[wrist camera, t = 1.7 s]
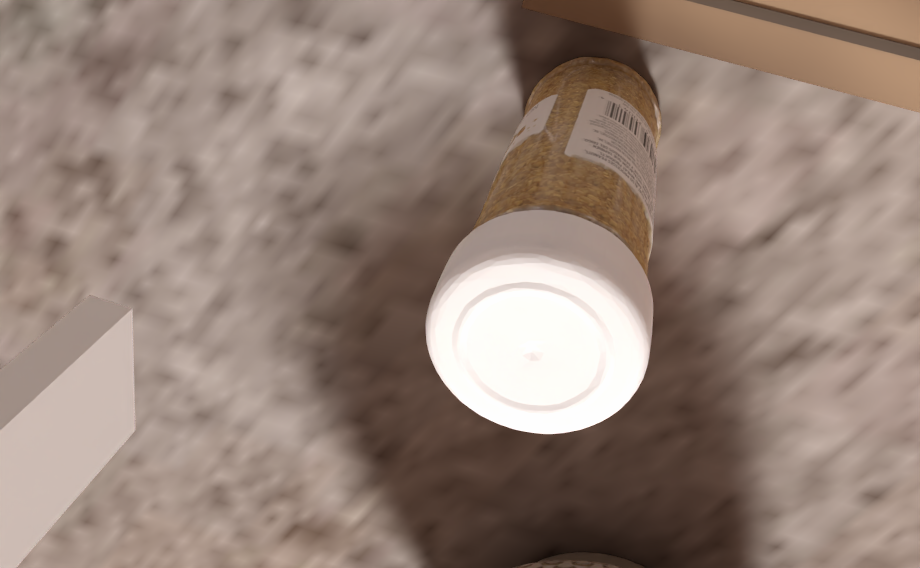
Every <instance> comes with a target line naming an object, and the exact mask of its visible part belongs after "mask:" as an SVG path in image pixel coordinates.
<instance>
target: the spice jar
mask: <svg viewBox="0 0 920 568" xmlns="http://www.w3.org/2000/svg"><path fill="white" fill-rule="evenodd" d="M660 135H661V112H660V109H659V106H658V103H657V99H656V97H655V95H654V94H653V92H652V90H651V88H650V86H649V84H648V83H647V82H646V81H645V79H644V78H642V77H641V76H640V75H639V74H638V73H637V72H636V71H635V70H633V69H631V68H630V67H629V66H627V65H624V64H622V63H619V62H617V61H614V60H610V59H608V58H597V57H580V58H576V59H573V60H570V61H568V62H565V63H563V64H561V65H559V66H558V67H556V68H555V69H554V70H553V71H551V72H549V73H548V74H547V75H546V76H545V77H544V78H542V79H541V80H540V81H539V82H538V84H537V85H536V86H535V88H534V89H533V91H532V94H531V96H530V98H529V99H528V102H527V105H526V108H525V113H524V118H523V119H522V121H521V122H520V124H519V125H518V128H517V130H516V132H515V134H514V136H513V138H512V140H511V143H510V145H509V147H508V149H507V151H506V154H505V156H504V158H503V160H502V162H501V165H500V167H499V169H498V172H497V174H496V176H495V178H494V180H493V183H492V185H491V188H490V190H489V193H488V196H487V199H486V202H485V204H484V207H483V209H482V212H481V214H480V216H479V218H478V220H477V222H476V224H475V226H474V228H473V231H472V232H471V233H470V234H469V235H467V236H466V237H465V238H464V239H463V240H462V241H461V242H460V243H459V244H458V246H457V247H456V249H455V250H454V251H453V253H452V255H451V256H450V258H449V260H448V262H447V264H446V266H445V268H444V270H443V272H442V274H441V276H440V279H439V281H438V283H437V286H436V288H435V290H434V293H433V295H432V298H431V301H430V304H429V307H428V311H427V317H426V342H427V347H428V351H429V354H430V358H431V360H432V362H433V364H434V367H435V369H436V371H437V373H438V374H439V376H440V377H441V379H442V381H443V382H444V384H445V385H446V386H447V387H448V388H449V389H450V391H451V392H452V393H453V394H454V395H455V396H456V397H457V398H458V399H459V400H460V401H461V402H462V403H463V404H465V405H466V406H467V407H469V408H470V409H472V410H473V411H474V412H476V413H477V414H479V415H480V416H482V417H485V418H487V419H489V420H491V421H493V422H495V423H497V424H500V425H503V426H506V427H509V428H512V429H515V430H520V431H525V432H531V433H540V434H557V433H566V432H571V431H577V430H581V429H584V428H587V427H590V426H592V425H595V424H597V423H600V422H601V421H603V420H605V419H607V418H609V417H610V416H612V415H613V414H615V413H616V412H617V411H619V410H620V409H621V408H622V407H623V406H624V405H625V404H626V403H627V402H628V401H629V400H630V399H631V397H632V396H633V395H634V393H635V392H636V391H637V389H638V387H639V385H640V384H641V382H642V380H643V378H644V375H645V372H646V369H647V365H648V360H649V355H650V346H651V338H652V325H653V297H652V292H651V288H650V284H649V281H648V278H647V273H648V261H649V257H650V254H651V249H652V244H653V227H654V211H655V196H656V173H657V152H656V148H657V145H658V142H659V138H660Z"/></svg>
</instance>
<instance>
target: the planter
mask: <svg viewBox="0 0 920 568" xmlns="http://www.w3.org/2000/svg"><path fill="white" fill-rule="evenodd" d="M514 568H645V567H644V566H641V565H639V564H637V563H634V562H632V561H630V560H626V559H623V558H620V557H616V556H612V555H607V554H601V553H591V552H574V553H565V554H559V555H555V556H552V557H548V558H545V559H542V560H540V561H538V562H536V563H529V564H524V565H520V566H517V567H514Z"/></svg>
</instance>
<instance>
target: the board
mask: <svg viewBox="0 0 920 568" xmlns="http://www.w3.org/2000/svg"><path fill="white" fill-rule="evenodd" d="M522 8H524V9H528V10H532V11H536V12H540V13H543V14H547V15H551V16H555V17H559V18H562V19H566V20H570V21H574V22H578V23H581V24H585V25H589V26H593V27H597V28H600V29H604V30H608V31H612V32H616V33H619V34H623V35H627V36H631V37H635V38H638V39H642V40H646V41H650V42H654V43H657V44H661V45H665V46H669V47H673V48H676V49H680V50H684V51H688V52H692V53H695V54H699V55H703V56H707V57H711V58H714V59H718V60H722V61H726V62H730V63H733V64H737V65H741V66H745V67H749V68H752V69H756V70H760V71H764V72H768V73H771V74H775V75H779V76H783V77H787V78H790V79H794V80H798V81H802V82H806V83H809V84H813V85H817V86H821V87H825V88H828V89H832V90H836V91H840V92H844V93H847V94H851V95H855V96H859V97H863V98H866V99H870V100H874V101H878V102H882V103H885V104H889V105H893V106H897V107H901V108H904V109H908V110H912V111H916V112H920V0H523V3H522Z"/></svg>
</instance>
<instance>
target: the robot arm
mask: <svg viewBox="0 0 920 568" xmlns="http://www.w3.org/2000/svg"><path fill="white" fill-rule="evenodd" d="M134 431H135V396H134V355H133V314H132V308H130V307H127V306H123V305H120V304H117V303H114V302H111V301H107V300H104V299H101V298H98V297H95V296H91V295H89V296H88V297H87V298H85V299H84V300H83V301H82V302H81V303H79V304H78V305H77V306H76V307H75V308H74V309H72V310H71V311H70V312H69V313H68V314H66V315H65V316H64V317H63V318H62V319H60V320H59V321H58V322H57V323H56V324H54V325H53V326H52V327H51V328H50V329H48V330H47V331H46V332H45V333H44V334H42V335H41V336H40V337H39V338H38V339H36V340H35V341H34V342H33V343H32V344H30V345H29V346H28V347H27V348H26V349H24V350H23V351H22V352H21V353H20V354H18V355H17V356H16V357H15V358H14V359H12V360H11V361H10V362H9V363H8V364H7V365H5V366H4V367H3V368H2V369H1V370H0V568H16V567H17V566H18V565H19V564H20V563H21V562H22V560H23V559H24V558H25V557H26V556H27V555H28V553H29V552H30V551H31V550H32V549H33V548H34V547H35V545H36V544H37V543H38V542H39V541H40V540H41V539H42V537H43V536H44V535H45V534H46V533H47V532H48V530H49V529H50V528H51V527H52V526H53V525H54V524H55V522H56V521H57V520H58V519H59V518H60V517H61V515H62V514H63V513H64V512H65V511H66V510H67V509H68V507H69V506H70V505H71V504H72V503H73V502H74V501H75V499H76V498H77V497H78V496H79V495H80V494H81V492H82V491H83V490H84V489H85V488H86V487H87V486H88V484H89V483H90V482H91V481H92V480H93V479H94V477H95V476H96V475H97V474H98V473H99V472H100V471H101V469H102V468H103V467H104V466H105V465H106V464H107V462H108V461H109V460H110V459H111V458H112V457H113V456H114V454H115V453H116V452H117V451H118V450H119V449H120V448H121V446H122V445H123V444H124V443H125V442H126V441H127V439H128V438H129V437H130V436H131V435H132V434H133V433H134Z"/></svg>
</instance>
